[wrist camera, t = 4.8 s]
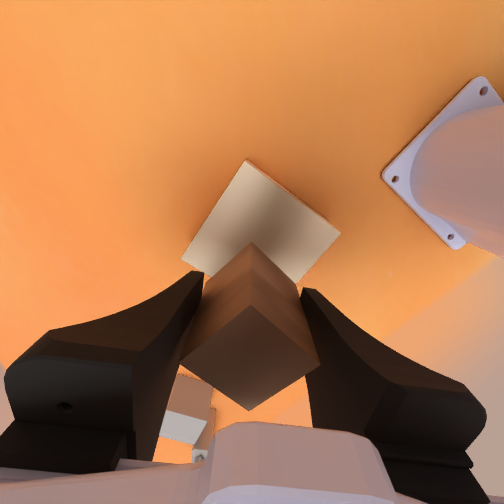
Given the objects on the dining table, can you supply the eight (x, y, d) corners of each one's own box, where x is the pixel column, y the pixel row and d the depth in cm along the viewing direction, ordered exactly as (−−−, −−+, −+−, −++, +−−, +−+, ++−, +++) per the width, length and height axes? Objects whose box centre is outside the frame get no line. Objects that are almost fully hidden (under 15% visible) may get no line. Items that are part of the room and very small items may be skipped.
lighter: (200, 407, 28) (182, 498, 21) (215, 408, 28) (202, 499, 21) (198, 444, 31) (181, 536, 24) (211, 445, 31) (199, 538, 24)
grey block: (213, 383, 27) (207, 421, 23) (201, 406, 28) (194, 445, 25) (178, 373, 26) (166, 410, 23) (167, 396, 28) (155, 434, 24)
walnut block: (295, 283, 14) (320, 364, 9) (250, 319, 15) (248, 411, 10) (251, 241, 13) (250, 304, 8) (206, 282, 14) (178, 362, 9)
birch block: (326, 219, 20) (341, 233, 17) (267, 288, 23) (270, 312, 19) (245, 158, 18) (244, 161, 15) (191, 241, 21) (180, 259, 17)
